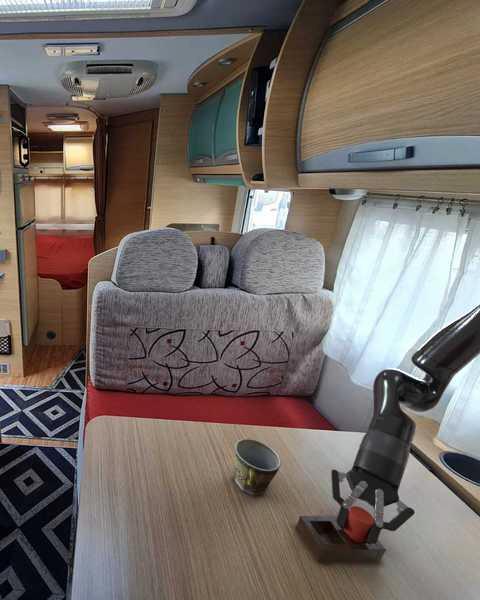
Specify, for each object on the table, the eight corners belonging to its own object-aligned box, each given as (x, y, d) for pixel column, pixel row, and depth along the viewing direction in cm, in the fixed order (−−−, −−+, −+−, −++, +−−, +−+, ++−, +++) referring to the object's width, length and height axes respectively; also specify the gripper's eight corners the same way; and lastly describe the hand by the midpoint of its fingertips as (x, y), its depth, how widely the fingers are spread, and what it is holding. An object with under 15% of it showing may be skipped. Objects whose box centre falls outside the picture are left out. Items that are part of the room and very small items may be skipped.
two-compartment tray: (352, 528, 73) (357, 515, 71) (379, 562, 66) (386, 549, 65) (295, 528, 73) (300, 515, 71) (317, 563, 66) (322, 549, 65)
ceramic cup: (232, 462, 90) (239, 432, 86) (273, 480, 84) (282, 449, 81) (221, 497, 79) (229, 466, 76) (268, 520, 74) (278, 487, 71)
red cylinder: (357, 541, 70) (371, 511, 67) (361, 558, 67) (376, 527, 64) (336, 532, 72) (348, 503, 69) (339, 548, 69) (352, 518, 66)
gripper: (342, 435, 72) (313, 510, 69) (432, 475, 63) (405, 564, 59) (339, 442, 78) (313, 511, 74) (423, 480, 68) (397, 562, 64)
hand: (354, 535), depth 66 cm, fingers closed on red cylinder, 3 cm apart
